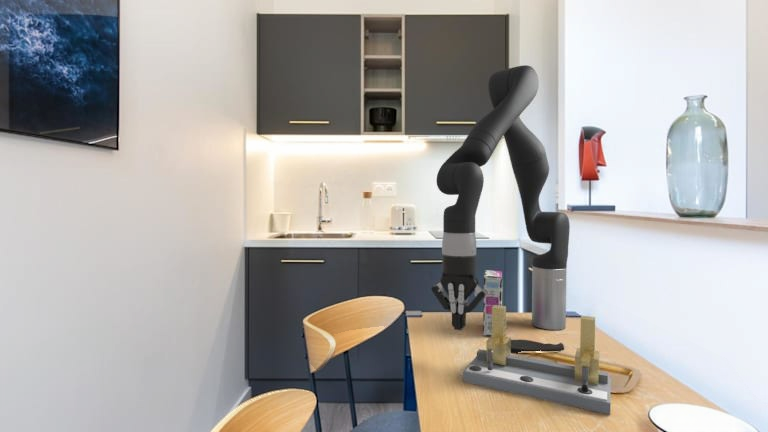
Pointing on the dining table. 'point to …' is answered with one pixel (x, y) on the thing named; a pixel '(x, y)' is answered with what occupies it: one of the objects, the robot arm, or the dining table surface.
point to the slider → (498, 339)
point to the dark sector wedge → (533, 346)
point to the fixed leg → (587, 355)
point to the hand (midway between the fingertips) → (458, 329)
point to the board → (540, 381)
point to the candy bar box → (491, 298)
